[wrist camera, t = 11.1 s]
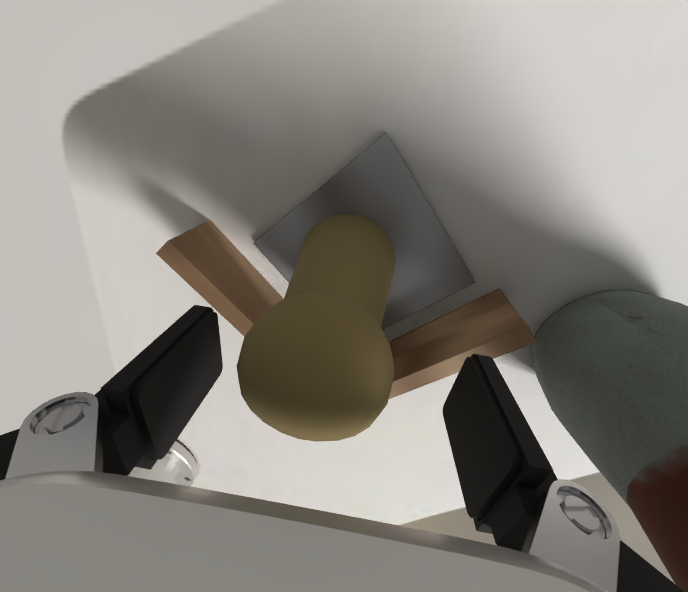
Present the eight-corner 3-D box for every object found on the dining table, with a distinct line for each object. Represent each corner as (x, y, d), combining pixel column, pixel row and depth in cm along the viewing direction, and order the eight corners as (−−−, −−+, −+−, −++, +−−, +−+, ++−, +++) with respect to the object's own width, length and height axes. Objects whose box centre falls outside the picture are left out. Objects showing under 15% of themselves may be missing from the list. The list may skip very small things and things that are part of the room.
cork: (308, 303, 19) (237, 463, 10) (292, 217, 16) (169, 326, 7) (395, 302, 18) (409, 475, 9) (395, 210, 16) (415, 324, 6)
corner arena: (341, 378, 23) (333, 420, 20) (198, 230, 18) (155, 253, 15) (506, 302, 18) (536, 341, 15) (373, 63, 13) (369, 36, 9)
